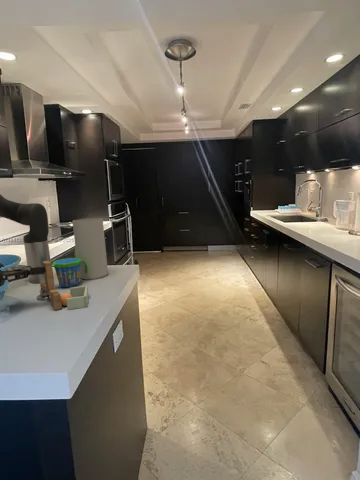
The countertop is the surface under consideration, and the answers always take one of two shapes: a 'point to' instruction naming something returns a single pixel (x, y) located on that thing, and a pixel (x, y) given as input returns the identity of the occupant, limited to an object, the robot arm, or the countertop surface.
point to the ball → (64, 297)
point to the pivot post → (43, 296)
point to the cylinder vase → (91, 247)
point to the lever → (51, 286)
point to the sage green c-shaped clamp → (78, 297)
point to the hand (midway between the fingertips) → (44, 270)
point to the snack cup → (68, 271)
